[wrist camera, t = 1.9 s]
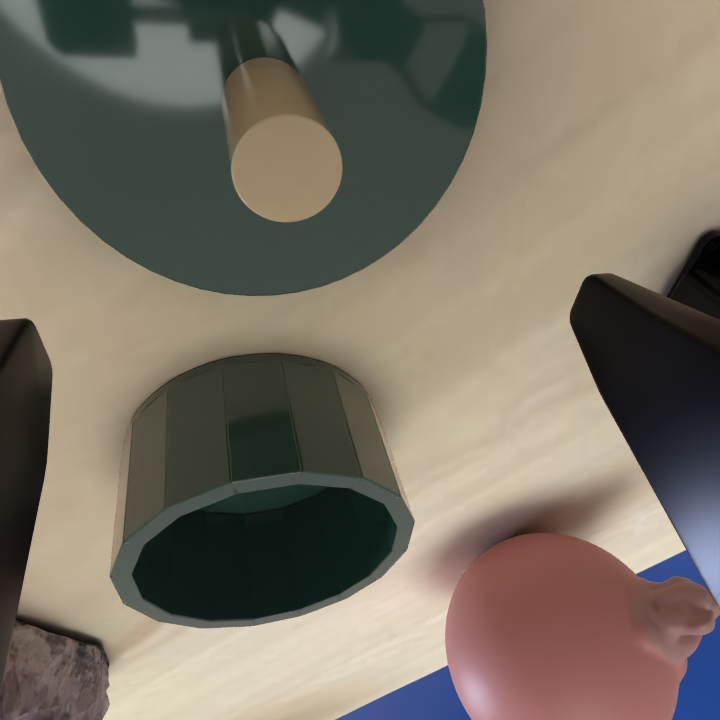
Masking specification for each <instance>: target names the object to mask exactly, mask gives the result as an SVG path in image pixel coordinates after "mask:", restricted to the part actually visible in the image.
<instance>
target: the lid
mask: <svg viewBox="0 0 720 720" xmlns="http://www.w3.org/2000/svg"><path fill="white" fill-rule="evenodd" d="M486 56H487V36H486V21H485V8H484V3H483V0H0V80H1V84H2V87H3V91H4V95H5V98H6V102H7V105H8V108H9V110H10V113H11V115H12V117H13V120H14V122H15V125H16V127H17V129H18V132H19V134H20V137H21V139H22V141H23V143H24V144H25V146H26V148H27V150H28V151H29V153H30V155H31V157H32V159H33V160H34V162H35V164H36V166H37V167H38V169H39V171H40V172H41V173H42V175H43V176H44V178H45V179H46V180H47V182H48V183H49V184H50V186H51V187H52V189H53V190H54V191H55V193H56V194H57V195H58V197H59V198H60V199H61V200H62V201H63V202H64V203H65V205H66V206H67V207H68V208H69V209H70V210H71V211H72V212H73V213H74V214H75V216H76V217H77V218H78V219H79V220H80V221H81V222H82V223H83V224H85V225H86V226H87V227H88V228H89V229H90V230H91V231H92V232H94V233H95V234H96V235H97V236H98V237H99V238H100V239H102V240H103V241H104V242H105V243H107V244H108V245H110V246H111V247H113V248H114V249H115V250H117V251H118V252H120V253H121V254H123V255H124V256H125V257H127V258H129V259H130V260H132V261H134V262H136V263H138V264H139V265H141V266H143V267H145V268H147V269H148V270H150V271H152V272H155V273H157V274H159V275H162V276H164V277H166V278H169V279H171V280H174V281H176V282H179V283H182V284H186V285H189V286H192V287H196V288H199V289H203V290H208V291H213V292H219V293H224V294H234V295H246V296H265V295H280V294H288V293H296V292H301V291H305V290H309V289H313V288H317V287H321V286H324V285H327V284H330V283H332V282H335V281H338V280H341V279H343V278H345V277H347V276H349V275H352V274H354V273H356V272H358V271H360V270H362V269H364V268H365V267H367V266H369V265H370V264H372V263H374V262H375V261H377V260H378V259H380V258H382V257H383V256H385V255H386V254H387V253H388V252H390V251H391V250H392V249H394V248H395V247H396V246H397V245H399V244H400V243H401V242H403V241H404V240H405V239H406V238H407V237H408V236H409V235H410V234H411V233H412V232H413V231H414V230H415V229H416V228H417V227H418V226H419V225H420V224H421V223H422V222H423V220H424V219H425V218H426V217H427V216H428V214H429V213H430V212H431V211H432V210H433V209H434V207H435V206H436V205H437V203H438V202H439V200H440V199H441V197H442V196H443V194H444V193H445V191H446V190H447V188H448V187H449V185H450V184H451V182H452V180H453V178H454V176H455V174H456V172H457V170H458V169H459V167H460V165H461V163H462V161H463V159H464V156H465V153H466V151H467V148H468V146H469V143H470V141H471V138H472V136H473V133H474V129H475V125H476V122H477V118H478V114H479V111H480V107H481V101H482V95H483V89H484V83H485V76H486Z"/></svg>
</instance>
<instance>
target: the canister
mask: <svg viewBox="0 0 720 720" xmlns="http://www.w3.org/2000/svg"><path fill="white" fill-rule="evenodd" d="M414 521H415V520H414V517H413V514H412V511H411V508H410V506H409V503H408V500H407V497H406V494H405V491H404V488H403V485H402V482H401V479H400V477H399V474H398V471H397V468H396V465H395V462H394V459H393V456H392V453H391V450H390V448H389V445H388V442H387V439H386V436H385V433H384V430H383V427H382V424H381V421H380V419H379V417H378V415H377V413H376V411H375V409H374V406H373V403H372V401H371V399H370V397H369V396H368V394H367V392H366V391H365V390H364V388H363V387H362V386H361V385H360V384H359V383H358V382H357V381H356V380H354V379H353V378H352V377H351V376H349V375H348V374H347V373H345V372H343V371H341V370H339V369H338V368H336V367H334V366H331V365H329V364H326V363H324V362H321V361H318V360H314V359H310V358H306V357H301V356H294V355H286V354H255V355H245V356H238V357H232V358H228V359H224V360H219V361H215V362H212V363H209V364H206V365H203V366H200V367H198V368H195V369H193V370H191V371H189V372H186V373H184V374H182V375H180V376H178V377H176V378H175V379H173V380H172V381H170V382H168V383H167V384H165V385H164V386H162V387H161V388H160V389H159V390H157V391H156V392H155V393H154V394H152V395H151V396H150V397H149V398H148V399H147V400H146V402H145V403H144V404H143V405H142V406H141V407H140V408H139V410H138V411H137V413H136V414H135V416H134V417H133V419H132V421H131V423H130V426H129V428H128V430H127V435H126V440H125V446H124V449H123V452H122V455H121V465H120V475H119V485H118V495H117V506H116V516H115V526H114V537H113V547H112V557H111V567H110V578H111V580H112V582H113V584H114V586H115V588H116V590H117V592H118V594H119V596H120V598H121V600H122V602H123V604H125V605H127V606H129V607H131V608H133V609H135V610H137V611H138V612H140V613H142V614H144V615H146V616H148V617H150V618H152V619H154V620H156V621H159V622H164V623H170V624H177V625H183V626H189V627H196V628H223V627H245V626H256V625H260V624H265V623H270V622H275V621H279V620H284V619H289V618H294V617H298V616H302V615H305V614H308V613H310V612H313V611H315V610H318V609H321V608H323V607H326V606H328V605H331V604H334V603H336V602H339V601H342V600H344V599H347V598H348V597H350V596H352V595H353V594H355V593H357V592H358V591H360V590H361V589H363V588H365V587H366V586H368V585H370V584H371V583H373V582H375V581H376V580H378V579H379V578H381V577H382V576H383V575H384V574H385V573H386V572H387V571H388V570H389V569H390V568H391V567H392V566H393V565H394V563H395V562H396V561H397V560H398V559H399V558H400V557H401V556H402V555H403V554H404V553H405V552H406V550H407V548H408V544H409V541H410V537H411V533H412V530H413V526H414Z"/></svg>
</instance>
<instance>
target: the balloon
mask: <svg viewBox="0 0 720 720" xmlns="http://www.w3.org/2000/svg"><path fill="white" fill-rule="evenodd" d="M719 615H720V609H719V608H718V606H717V604H716V602H715V600H714V599H713V597H712V595H711V593H710V591H709V590H708V589H705V588H704V587H703V586H701V585H699V584H697V583H694V582H692V581H691V580H689V579H687V578H682V577H671V578H670V579H669V580H667V581H666V582H662V583H657V582H650V581H647V580H646V579H643V578H639V577H638V576H637V575H636V574H635V573H634V572H633V571H632V570H631V569H630V568H628V567H627V566H626V565H625V564H624V563H623V562H621V561H620V560H619V559H617V558H616V557H615V556H613V555H612V554H610V553H609V552H607V551H605V550H604V549H602V548H600V547H598V546H596V545H594V544H592V543H589V542H587V541H585V540H582V539H579V538H576V537H572V536H568V535H563V534H557V533H529V534H523V535H519V536H515V537H512V538H509V539H506V540H504V541H502V542H500V543H498V544H496V545H494V546H492V547H491V548H489V549H488V550H486V551H485V552H484V553H482V554H481V555H480V556H479V557H478V558H477V559H476V560H475V561H474V562H473V563H472V564H471V565H470V566H469V567H468V569H467V570H466V571H465V573H464V574H463V576H462V577H461V579H460V581H459V583H458V584H457V586H456V589H455V591H454V593H453V596H452V599H451V602H450V605H449V609H448V614H447V619H446V630H445V644H446V654H447V661H448V666H449V670H450V674H451V677H452V680H453V683H454V686H455V689H456V691H457V694H458V696H459V698H460V700H461V702H462V704H463V706H464V707H465V709H466V711H467V713H468V714H469V716H470V717H471V719H472V720H672V717H673V714H674V711H675V707H676V703H677V697H678V690H679V683H680V681H681V679H682V678H683V677H684V675H685V673H686V670H687V659H686V658H687V657H688V656H690V655H691V654H692V653H693V652H694V651H695V650H696V648H697V646H698V645H699V642H700V640H701V637H702V635H704V634H708V633H710V632H711V631H712V630H713V629H714V626H715V618H716V617H717V616H719Z"/></svg>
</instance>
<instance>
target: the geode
mask: <svg viewBox="0 0 720 720" xmlns="http://www.w3.org/2000/svg"><path fill="white" fill-rule="evenodd" d="M108 667H109V663H108V661H107V657H106V654H105V653H104V651H103V648H102V647H101V646H100V645H95V644H90V643H86V642H82V641H78V640H74V639H71V638H68V637H66V636H60V635H56V634H53V633H51V632H48V631H45V630H42V629H40V628H37V627H34V626H31V625H28V624H26V623H23V622H21V621H15V624H14V629H13V634H12V639H11V644H10V649H9V654H8V658H7V663H6V668H5V673H4V678H3V683H2V688H1V693H0V720H102V719H103V717H104V715H105V714H106V712H107V710H108V707H109V699H108V696H107V693H106V690H107V688H108V687H109V681H108V677H109V675H108Z"/></svg>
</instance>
